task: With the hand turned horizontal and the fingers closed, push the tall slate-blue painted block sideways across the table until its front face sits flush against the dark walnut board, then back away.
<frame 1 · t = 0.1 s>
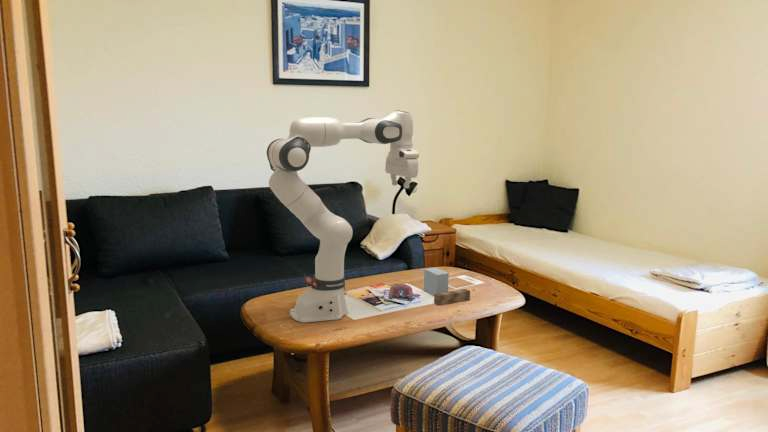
hand: (400, 186, 230), 48 cm above the table, tool pointing down, fingers open, 8 cm apart
block: (435, 293, 250), on the table
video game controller: (400, 298, 243), on the table
board: (452, 301, 239), on the table
photo frame: (460, 283, 266), on the table
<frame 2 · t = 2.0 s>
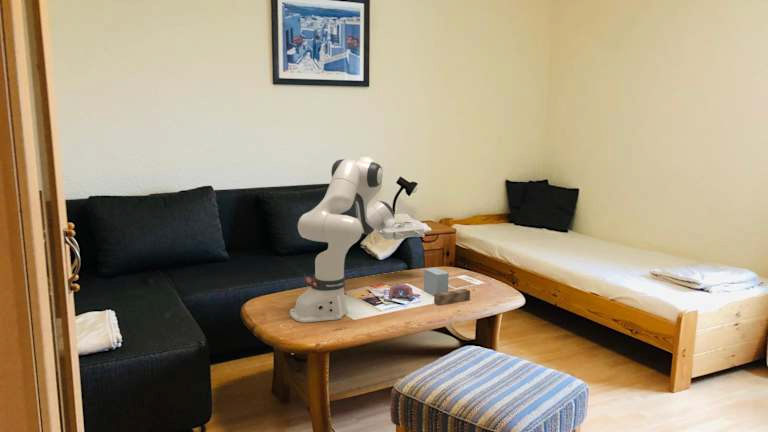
hand: (411, 236, 259), 22 cm above the table, tool horizontal, fingers open, 7 cm apart
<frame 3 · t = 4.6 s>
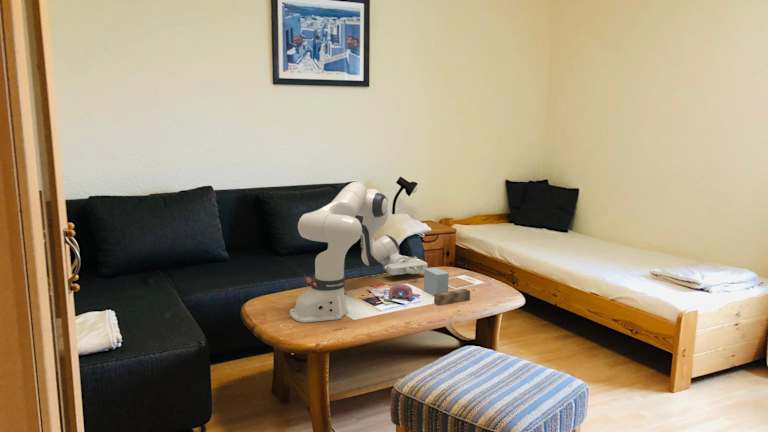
hand: (415, 272, 263), 5 cm above the table, tool horizontal, fingers closed
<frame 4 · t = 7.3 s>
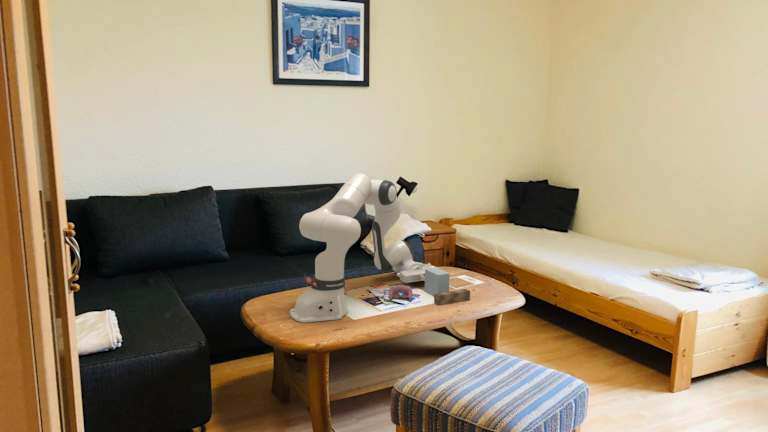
hand: (430, 279, 253), 5 cm above the table, tool horizontal, fingers closed, pressing on block
block: (436, 293, 249), on the table, touching gripper
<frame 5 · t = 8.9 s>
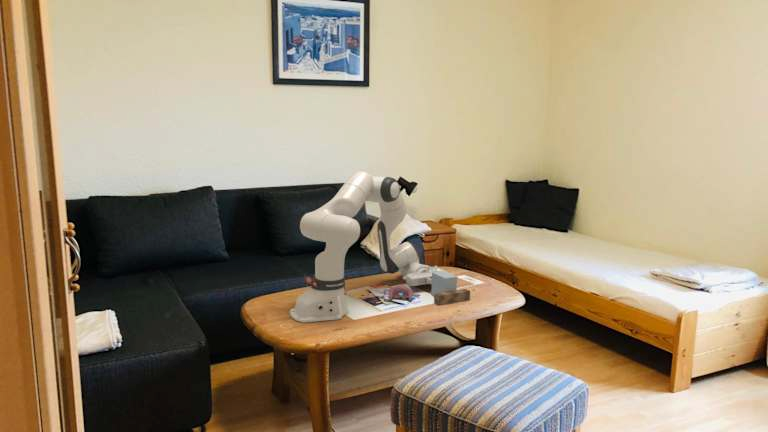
hand: (437, 282, 248), 5 cm above the table, tool horizontal, fingers closed, pressing on block
block: (443, 296, 245), on the table, touching board, gripper
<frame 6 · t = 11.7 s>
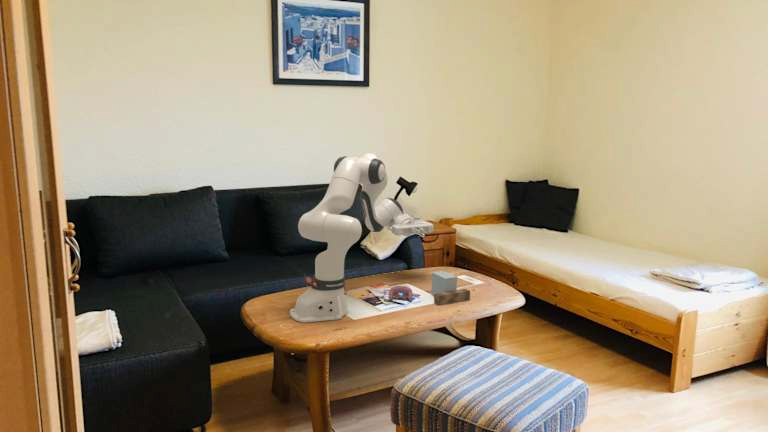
hand: (421, 232, 256), 25 cm above the table, tool horizontal, fingers closed
block: (443, 297, 245), on the table
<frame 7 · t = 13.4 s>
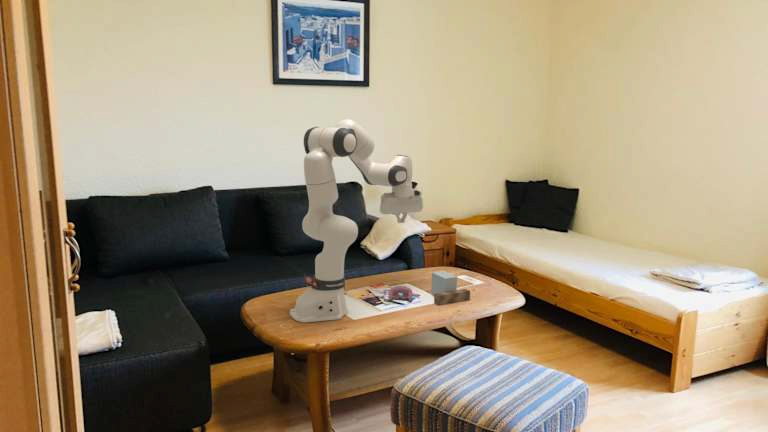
hand: (401, 222, 254), 29 cm above the table, tool pointing down, fingers closed
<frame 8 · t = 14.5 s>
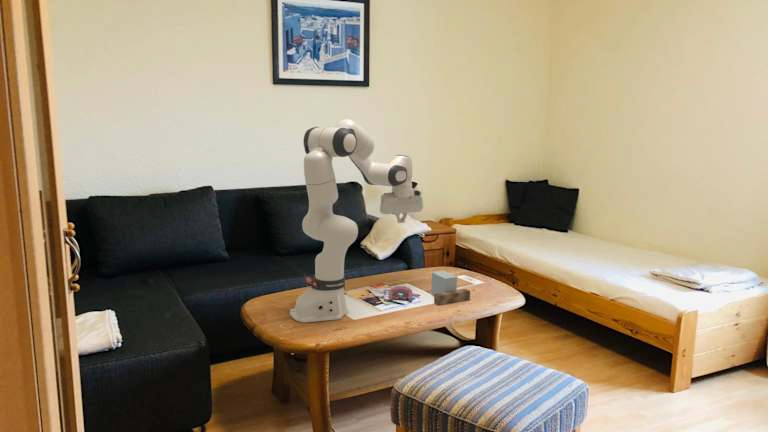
hand: (401, 222, 254), 29 cm above the table, tool pointing down, fingers closed
at the end: block 0.3 cm from the target spot on the table beside the board, on the table; block tilted 0° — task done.
